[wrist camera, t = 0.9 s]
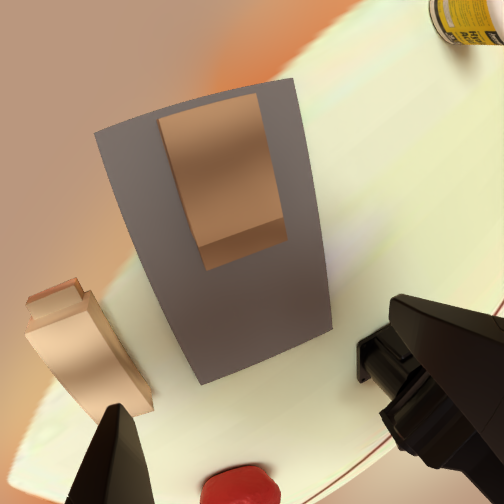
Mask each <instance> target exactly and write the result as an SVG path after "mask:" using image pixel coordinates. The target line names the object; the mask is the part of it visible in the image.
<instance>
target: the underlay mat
mask: <svg viewBox="0 0 504 504" xmlns="http://www.w3.org/2000/svg"><path fill="white" fill-rule="evenodd" d="M253 93H256V95H257V99H258V104H259V108H260V112H261V117H262V121H263V125H264V130H265V134H266V138H267V143H268V147H269V152H270V156H271V161H272V165H273V170H274V175H275V179H276V184H277V189H278V194H279V198H280V203H281V208H282V213H283V218H284V223H285V228H286V233H287V238H288V240H287V241H285V242H282V243H280V244H277V245H274V246H272V247H269V248H266V249H264V250H261V251H258V252H256V253H253V254H250V255H248V256H245V257H242V258H240V259H237V260H234V261H232V262H229V263H226V264H224V265H221V266H219V267H216V268H213V269H211V270H208V271H206V269H205V267H204V265H203V262H202V259H201V256H200V253H199V250H198V247H197V244H196V241H195V239H194V237H193V235H192V233H191V231H190V228H189V225H188V222H187V219H186V216H185V213H184V210H183V207H182V203H181V200H180V197H179V194H178V191H177V188H176V185H175V181H174V178H173V175H172V172H171V168H170V165H169V162H168V159H167V155H166V152H165V149H164V145H163V142H162V138H161V135H160V132H159V128H158V125H157V121H156V119H159V118H162V117H166V116H169V115H172V114H175V113H179V112H182V111H185V110H189V109H192V108H196V107H199V106H203V105H207V104H210V103H214V102H218V101H222V100H226V99H230V98H235V97H239V96H243V95H248V94H253ZM94 135H95V138H96V141H97V144H98V148H99V151H100V154H101V157H102V160H103V163H104V166H105V169H106V172H107V175H108V178H109V181H110V183H111V186H112V189H113V192H114V195H115V197H116V200H117V202H118V206H119V208H120V211H121V214H122V216H123V219H124V221H125V224H126V227H127V229H128V232H129V234H130V237H131V239H132V242H133V244H134V246H135V249H136V251H137V254H138V256H139V258H140V261H141V263H142V265H143V268H144V270H145V272H146V275H147V277H148V279H149V282H150V284H151V286H152V288H153V290H154V293H155V295H156V297H157V299H158V301H159V304H160V306H161V308H162V310H163V312H164V314H165V316H166V318H167V320H168V322H169V325H170V327H171V329H172V331H173V333H174V335H175V337H176V339H177V341H178V343H179V345H180V347H181V349H182V351H183V353H184V354H185V356H186V358H187V360H188V362H189V364H190V366H191V368H192V370H193V372H194V373H195V375H196V377H197V379H198V381H199V383H200V384H201V385H204V384H206V383H209V382H212V381H214V380H217V379H220V378H222V377H225V376H227V375H230V374H232V373H235V372H237V371H240V370H242V369H245V368H247V367H250V366H252V365H255V364H257V363H259V362H262V361H264V360H266V359H269V358H271V357H273V356H276V355H278V354H280V353H282V352H285V351H287V350H289V349H291V348H294V347H296V346H298V345H300V344H302V343H305V342H307V341H309V340H311V339H313V338H315V337H317V336H319V335H322V334H324V333H326V332H328V331H330V330H332V329H333V327H332V317H331V307H330V298H329V289H328V280H327V272H326V264H325V256H324V249H323V241H322V234H321V227H320V221H319V214H318V207H317V201H316V195H315V189H314V183H313V177H312V171H311V165H310V160H309V154H308V149H307V144H306V138H305V133H304V128H303V123H302V118H301V113H300V109H299V104H298V99H297V94H296V90H295V85H294V81H293V78H288V79H282V80H277V81H271V82H266V83H261V84H256V85H251V86H246V87H241V88H237V89H232V90H228V91H224V92H220V93H216V94H212V95H208V96H204V97H200V98H197V99H193V100H189V101H186V102H182V103H179V104H175V105H172V106H169V107H165V108H162V109H159V110H156V111H153V112H150V113H147V114H144V115H141V116H138V117H135V118H132V119H129V120H127V121H124V122H121V123H119V124H116V125H113V126H111V127H108V128H106V129H103V130H100V131H98V132H95V133H94Z"/></svg>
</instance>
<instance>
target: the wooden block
mask: <svg viewBox="0 0 504 504" xmlns="http://www.w3.org/2000/svg"><path fill="white" fill-rule="evenodd" d="M156 121H157V125H158V128H159V132H160V135H161V138H162V142H163V145H164V149H165V152H166V155H167V159H168V162H169V165H170V168H171V172H172V175H173V178H174V181H175V185H176V188H177V191H178V194H179V197H180V200H181V203H182V207H183V210H184V213H185V216H186V219H187V222H188V225H189V228H190V231H191V233H192V235H193V237H194V239H195V241H196V244H197V247H198V250H199V253H200V256H201V259H202V262H203V265H204V267H205V269H206V271H208V270H211V269H213V268H216V267H219V266H221V265H224V264H226V263H229V262H232V261H234V260H237V259H240V258H242V257H245V256H248V255H250V254H253V253H256V252H258V251H261V250H264V249H266V248H269V247H272V246H274V245H277V244H280V243H282V242H285V241H287V240H288V238H287V233H286V228H285V223H284V218H283V213H282V208H281V203H280V198H279V194H278V189H277V184H276V179H275V175H274V170H273V165H272V161H271V156H270V152H269V147H268V143H267V138H266V134H265V130H264V125H263V121H262V117H261V112H260V108H259V104H258V99H257V95H256V93H253V94H248V95H243V96H239V97H235V98H230V99H226V100H222V101H218V102H214V103H210V104H207V105H203V106H199V107H196V108H192V109H189V110H185V111H182V112H179V113H175V114H172V115H169V116H166V117H162V118H159V119H156Z"/></svg>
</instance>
